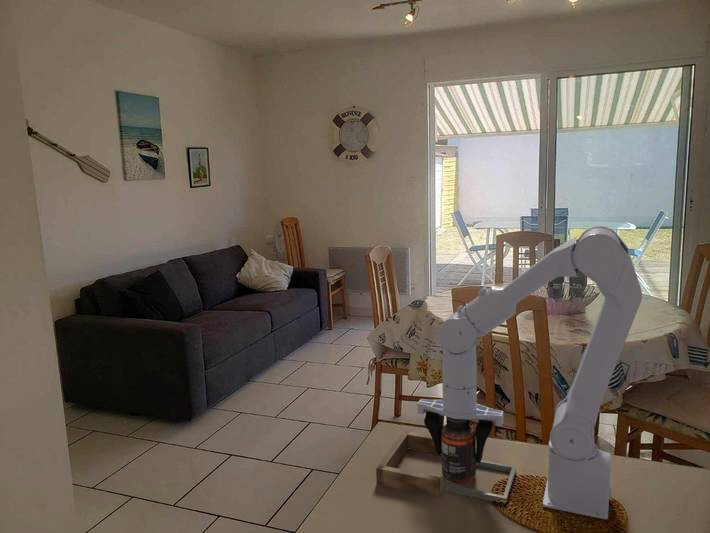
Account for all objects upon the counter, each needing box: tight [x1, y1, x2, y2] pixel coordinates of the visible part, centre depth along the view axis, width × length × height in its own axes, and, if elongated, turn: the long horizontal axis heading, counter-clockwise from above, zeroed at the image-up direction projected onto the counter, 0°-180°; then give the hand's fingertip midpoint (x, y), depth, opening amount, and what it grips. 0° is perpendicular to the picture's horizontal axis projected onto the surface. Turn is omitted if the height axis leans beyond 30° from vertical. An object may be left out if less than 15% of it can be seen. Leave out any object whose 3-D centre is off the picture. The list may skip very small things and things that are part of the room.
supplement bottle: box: [441, 416, 477, 485], centre depth 97 cm, size 6×6×11 cm
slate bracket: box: [447, 459, 517, 502], centre depth 96 cm, size 10×10×1 cm
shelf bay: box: [375, 430, 442, 498], centre depth 100 cm, size 11×14×3 cm
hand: (459, 456), depth 97 cm, fingers open, 6 cm apart
